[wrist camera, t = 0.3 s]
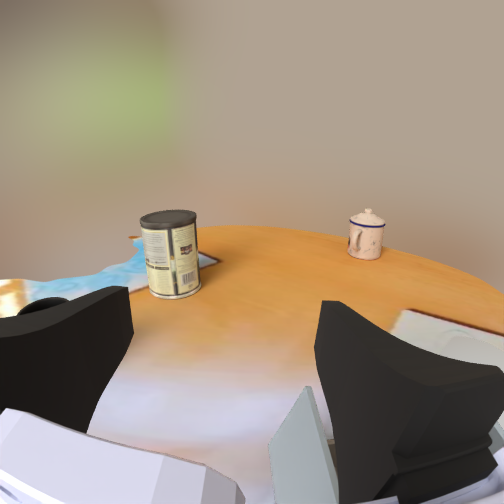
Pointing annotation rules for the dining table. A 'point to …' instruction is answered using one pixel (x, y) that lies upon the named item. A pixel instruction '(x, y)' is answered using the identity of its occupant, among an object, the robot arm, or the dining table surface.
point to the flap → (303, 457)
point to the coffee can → (171, 253)
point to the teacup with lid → (366, 235)
